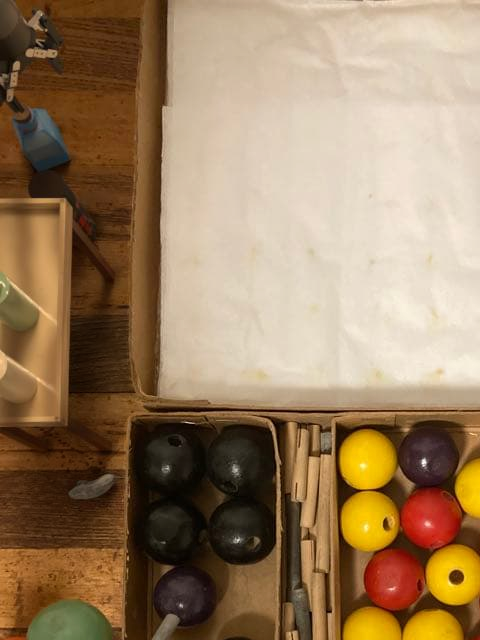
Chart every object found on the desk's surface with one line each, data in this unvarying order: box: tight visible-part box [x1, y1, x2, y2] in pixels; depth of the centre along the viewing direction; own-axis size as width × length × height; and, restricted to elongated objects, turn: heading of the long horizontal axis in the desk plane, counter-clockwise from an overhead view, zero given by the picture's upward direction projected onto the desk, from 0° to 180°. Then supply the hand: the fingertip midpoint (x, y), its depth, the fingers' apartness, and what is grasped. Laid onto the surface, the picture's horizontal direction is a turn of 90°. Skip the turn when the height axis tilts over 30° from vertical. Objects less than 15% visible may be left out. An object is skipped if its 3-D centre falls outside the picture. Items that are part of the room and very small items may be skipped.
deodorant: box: [27, 169, 98, 247], centre depth 143 cm, size 6×6×15 cm
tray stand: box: [0, 197, 116, 453], centre depth 136 cm, size 14×34×25 cm, turn 1°
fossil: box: [68, 473, 117, 500], centre depth 144 cm, size 8×4×5 cm, turn 112°
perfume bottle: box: [9, 101, 72, 173], centre depth 146 cm, size 6×6×12 cm
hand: (38, 89), depth 130 cm, fingers open, 8 cm apart
